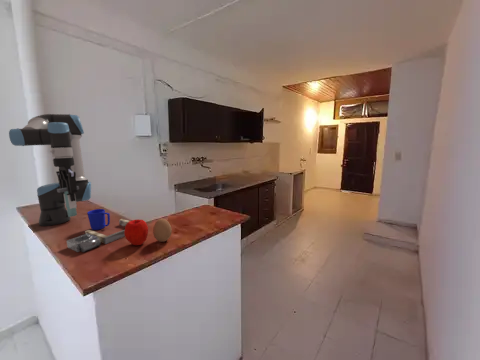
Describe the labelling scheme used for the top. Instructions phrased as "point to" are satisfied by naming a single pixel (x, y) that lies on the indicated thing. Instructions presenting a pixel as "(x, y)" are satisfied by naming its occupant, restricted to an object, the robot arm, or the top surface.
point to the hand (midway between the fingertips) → (71, 207)
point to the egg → (162, 230)
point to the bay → (111, 237)
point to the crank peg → (70, 211)
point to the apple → (136, 231)
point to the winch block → (83, 242)
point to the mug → (98, 219)
